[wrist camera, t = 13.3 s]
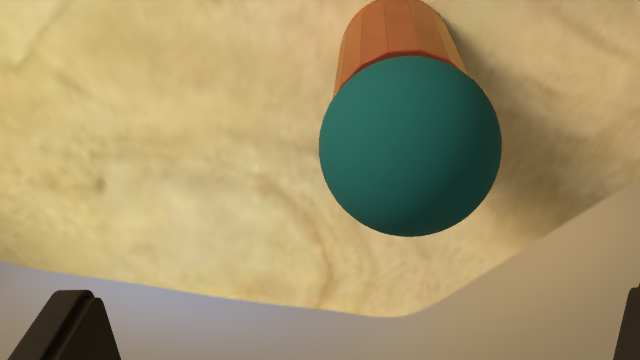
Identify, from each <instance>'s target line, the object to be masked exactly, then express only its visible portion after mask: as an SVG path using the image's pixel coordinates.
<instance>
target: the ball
mask: <svg viewBox="0 0 640 360" xmlns="http://www.w3.org/2000/svg"><path fill="white" fill-rule="evenodd" d="M501 145H502V138H501V132H500V126H499V123H498V119H497V116H496V113H495V110H494V108H493V106H492V104H491V102H490V101H489V99H488V98H487V96H486V95H485V93H484V92H483V90H482V89H481V88H480V87H479V86H478V85H477V83H476V82H475V81H474V80H473V79H471V78H470V77H469V76H468V75H466V74H465V73H464V72H462V71H460V70H459V69H457V68H455V67H454V66H452V65H450V64H448V63H445V62H443V61H440V60H437V59H433V58H429V57H422V56H401V57H394V58H390V59H385V60H382V61H380V62H377V63H374V64H372V65H370V66H368V67H366V68H364V69H362V70H361V71H360V72H358V73H357V74H355V75H354V76H353V77H352V78H351V79H349V80H348V81H347V82H346V83H345V84H344V85H343V86H342V88H341V89H340V90H339V91H338V92H337V94H336V95H335V96H334V98H333V100H332V101H331V103H330V105H329V107H328V109H327V111H326V114H325V116H324V119H323V123H322V126H321V130H320V138H319V157H320V163H321V168H322V171H323V175H324V178H325V181H326V183H327V185H328V187H329V189H330V191H331V192H332V194H333V196H334V197H335V199H336V200H337V202H338V203H339V204H340V205H341V206H342V208H343V209H344V210H345V211H346V212H348V213H349V214H350V215H351V216H352V217H353V218H355V219H356V220H358V221H359V222H360V223H362V224H364V225H365V226H367V227H369V228H371V229H374V230H376V231H379V232H382V233H385V234H389V235H395V236H404V237H415V236H424V235H430V234H433V233H437V232H440V231H443V230H445V229H448V228H450V227H452V226H454V225H456V224H457V223H459V222H461V221H462V220H463V219H465V218H466V217H468V216H469V215H470V214H471V213H472V212H473V211H474V210H475V209H476V208H477V207H478V206H479V205H480V203H481V202H482V201H483V200H484V199H485V197H486V196H487V194H488V192H489V191H490V189H491V187H492V185H493V183H494V181H495V178H496V175H497V172H498V169H499V166H500V160H501Z"/></svg>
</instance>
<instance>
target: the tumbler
mask: <svg viewBox="0 0 640 360" xmlns="http://www.w3.org/2000/svg"><path fill="white" fill-rule="evenodd" d="M401 56H422V57H429V58H433V59H437V60H440V61H443V62H445V63H448V64H450V65H452V66H454V67H455V68H457V69H459V70H460V71H462V72H464V73H465V74H466V75H468V73H467V70H466V68H465V66H464V64H463V61H462V59H461V57H460V55H459V53H458V50H457V48H456V46H455V44H454V41H453V39H452V37H451V35H450V33H449V30H448V28H447V26H446V24H445V22H444V20H443V19H442V18H441V17H440V15H439V14H438V13H437V12H436V11H435V10H434V9H433V8H432V7H430V6H429V5H427V4H426V3H424V2H422V1H420V0H376V1H373V2H371V3H370V4H368V5H366V6H365V7H364V8H362V9H361V10H360V11H359V12H358V13H357V14H356V15H355V16H354V17H353V18H352V20H351V21H350V23H349V25H348V26H347V28H346V31H345V33H344V36H343V40H342V43H341V46H340V53H339V60H338V66H337V73H336V80H335V87H334V94H333V98H334V96H335V95H336V94H337V92H338V91H339V90H340V89H341V88H342V86H343V85H344V84H345V83H346V82H347V81H348V80H349V79H351V78H352V77H353V76H354V75H355V74H357V73H358V72H360V71H361V70H362V69H364V68H366V67H368V66H370V65H372V64H374V63H377V62H380V61H382V60H385V59H390V58H394V57H401ZM468 76H469V75H468Z"/></svg>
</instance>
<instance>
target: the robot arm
mask: <svg viewBox="0 0 640 360" xmlns="http://www.w3.org/2000/svg"><path fill="white" fill-rule="evenodd" d="M8 360H121V358H120V355H119V352H118V348H117V345H116V342H115V339H114V335H113V332H112V329H111V326H110V323H109V319H108V316H107V313H106V310H105V307H104V303H103V301H102V300H101V299H100V298H95V297H94V295H93V293H92V292H91V291H89V290H59V291H56V292H55V293H54V294H53V295H52V296H51V297H50V299H49V300H48V302H47V303H46V305H45V306H44V307H43V309H42V310H41V312H40V313H39V315H38V316H37V318H36V319H35V321H34V322H33V323H32V325H31V326H30V328H29V329H28V331H27V332H26V334H25V335H24V337H23V338H22V339H21V341H20V342H19V344H18V345H17V347H16V348H15V350H14V351H13V353H12V354H11V356H10V357H9V359H8ZM613 360H640V284H639V287H637V288H632V289H631V290H630V291H629V294H628V298H627V302H626V307H625V311H624V315H623V320H622V324H621V328H620V333H619V337H618V341H617V345H616V350H615V354H614V358H613Z"/></svg>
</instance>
